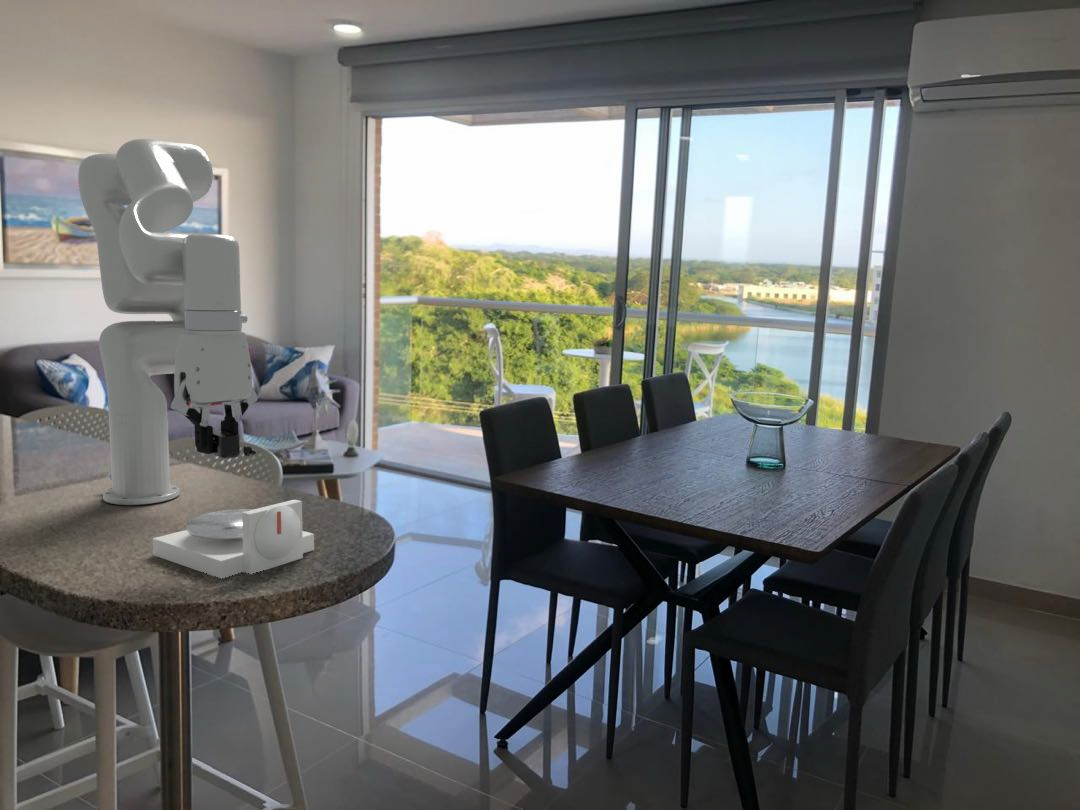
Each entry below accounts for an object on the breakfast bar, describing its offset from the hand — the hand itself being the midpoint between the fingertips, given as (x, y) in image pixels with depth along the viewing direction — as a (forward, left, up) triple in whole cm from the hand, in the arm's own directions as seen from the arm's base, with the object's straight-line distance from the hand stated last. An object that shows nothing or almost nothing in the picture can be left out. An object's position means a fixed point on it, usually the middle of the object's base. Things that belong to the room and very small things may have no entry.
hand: (217, 449), depth 126 cm
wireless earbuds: (+2, 0, -1) cm, 3 cm away
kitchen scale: (+3, +1, -16) cm, 16 cm away
